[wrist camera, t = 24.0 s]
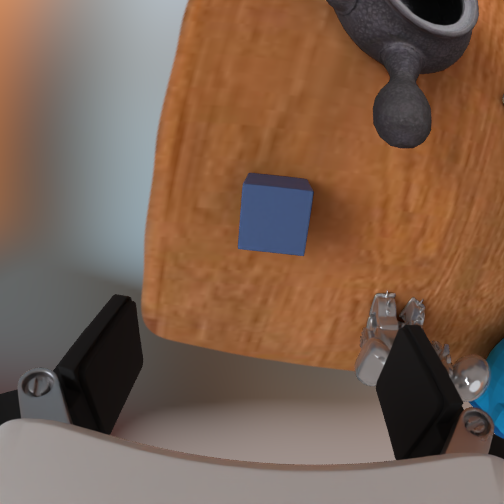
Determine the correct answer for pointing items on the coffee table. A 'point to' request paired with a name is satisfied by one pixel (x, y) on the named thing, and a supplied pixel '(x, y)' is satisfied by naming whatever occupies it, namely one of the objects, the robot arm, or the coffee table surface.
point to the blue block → (275, 214)
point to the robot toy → (461, 372)
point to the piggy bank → (494, 390)
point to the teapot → (407, 54)
